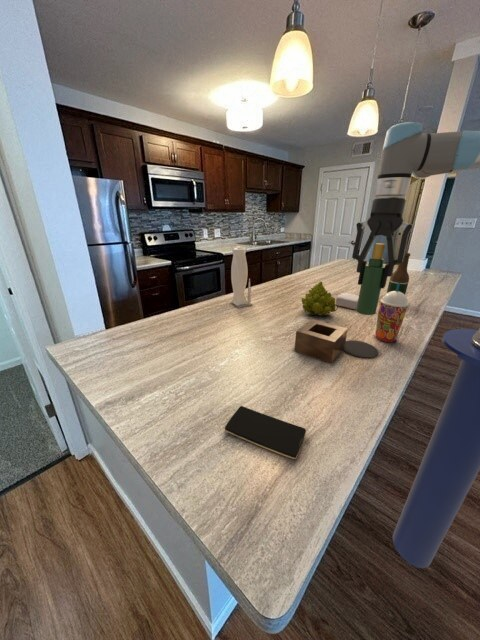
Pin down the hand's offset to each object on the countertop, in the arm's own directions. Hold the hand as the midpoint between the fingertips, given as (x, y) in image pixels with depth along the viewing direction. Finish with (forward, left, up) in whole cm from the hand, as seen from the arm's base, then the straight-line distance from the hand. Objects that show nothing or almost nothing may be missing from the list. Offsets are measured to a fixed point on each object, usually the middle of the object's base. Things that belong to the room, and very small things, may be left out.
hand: (371, 285), depth 76 cm
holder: (+10, +8, -21) cm, 25 cm away
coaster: (0, 0, -21) cm, 21 cm away
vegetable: (+24, -22, -22) cm, 39 cm away
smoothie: (-5, -14, -22) cm, 26 cm away
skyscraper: (+57, -10, -22) cm, 62 cm away
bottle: (0, 0, -8) cm, 8 cm away
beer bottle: (0, -59, -22) cm, 63 cm away
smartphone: (+5, +48, -21) cm, 53 cm away
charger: (+13, -41, -22) cm, 48 cm away
